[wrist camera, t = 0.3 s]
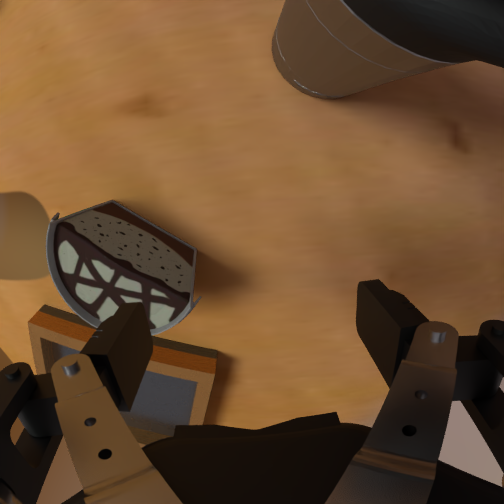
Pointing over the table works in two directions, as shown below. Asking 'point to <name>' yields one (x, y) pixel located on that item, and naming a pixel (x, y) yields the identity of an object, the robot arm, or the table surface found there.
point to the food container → (120, 265)
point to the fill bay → (154, 380)
